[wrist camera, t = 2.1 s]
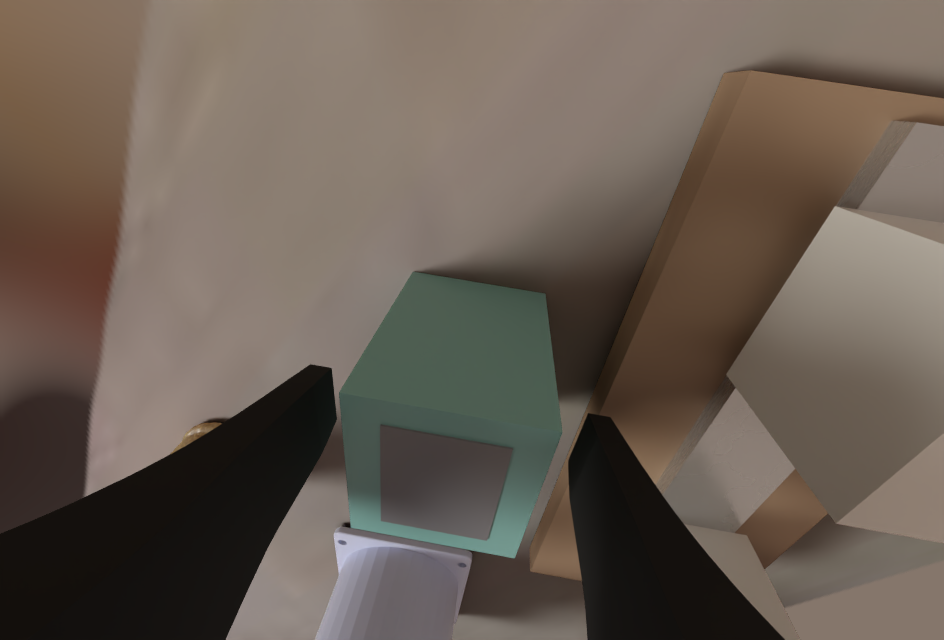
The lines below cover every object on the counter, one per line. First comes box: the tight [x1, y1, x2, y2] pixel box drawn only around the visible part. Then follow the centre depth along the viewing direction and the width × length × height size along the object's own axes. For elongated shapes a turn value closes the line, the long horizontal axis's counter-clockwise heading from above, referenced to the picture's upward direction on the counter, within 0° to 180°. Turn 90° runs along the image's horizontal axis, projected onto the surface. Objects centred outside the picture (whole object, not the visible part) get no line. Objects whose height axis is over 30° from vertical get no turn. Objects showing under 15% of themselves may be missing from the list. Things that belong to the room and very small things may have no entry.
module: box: [339, 272, 562, 558], centre depth 11 cm, size 5×4×6 cm
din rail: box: [655, 121, 944, 533], centre depth 13 cm, size 21×4×1 cm, turn 173°
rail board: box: [530, 70, 944, 581], centre depth 14 cm, size 22×10×1 cm, turn 173°
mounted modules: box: [684, 206, 944, 640], centre depth 11 cm, size 18×4×4 cm, turn 173°
